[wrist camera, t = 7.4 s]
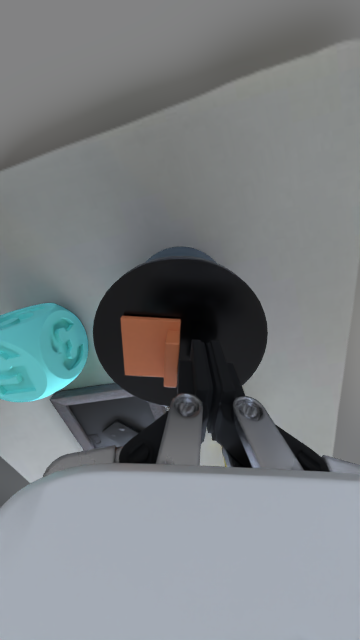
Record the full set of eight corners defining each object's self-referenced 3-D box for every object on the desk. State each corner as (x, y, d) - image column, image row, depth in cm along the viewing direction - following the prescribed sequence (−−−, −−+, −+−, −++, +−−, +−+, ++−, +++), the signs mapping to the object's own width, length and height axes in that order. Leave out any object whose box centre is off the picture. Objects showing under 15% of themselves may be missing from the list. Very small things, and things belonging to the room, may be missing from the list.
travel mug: (238, 247, 20) (293, 265, 10) (221, 340, 25) (247, 412, 15) (129, 239, 20) (78, 250, 10) (133, 334, 25) (102, 405, 15)
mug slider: (180, 318, 12) (180, 334, 10) (176, 374, 14) (176, 395, 12) (122, 315, 12) (111, 330, 10) (126, 371, 14) (118, 392, 12)
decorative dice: (42, 360, 27) (-8, 408, 20) (11, 308, 24) (-64, 344, 16) (96, 352, 26) (63, 398, 19) (71, 298, 23) (21, 329, 16)
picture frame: (181, 458, 37) (155, 377, 28) (181, 470, 35) (153, 387, 26) (104, 466, 38) (55, 391, 30) (100, 478, 37) (47, 402, 28)
